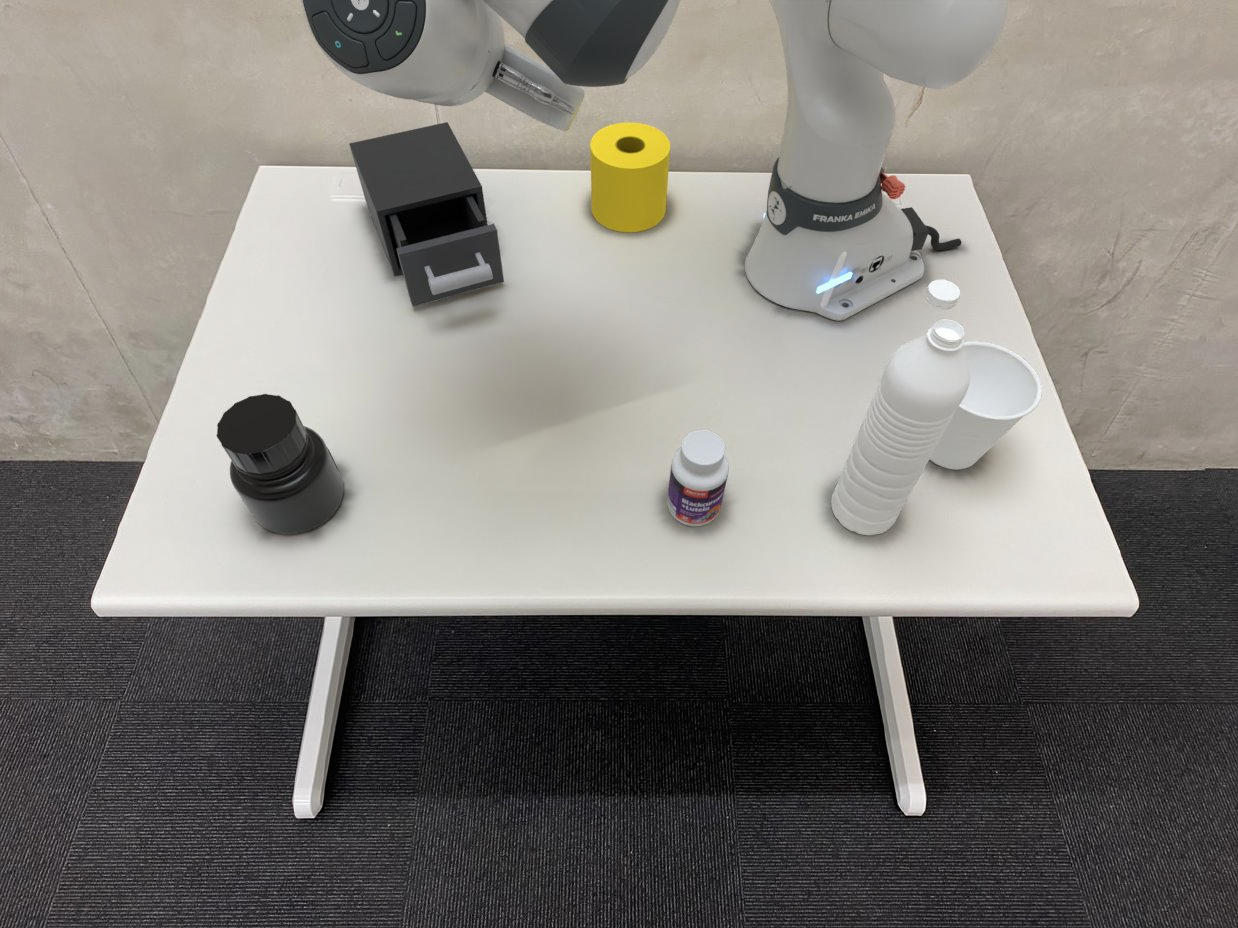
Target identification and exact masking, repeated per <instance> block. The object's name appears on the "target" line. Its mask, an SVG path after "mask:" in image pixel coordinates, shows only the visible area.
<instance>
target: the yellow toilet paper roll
mask: <svg viewBox="0 0 1238 928" xmlns="http://www.w3.org/2000/svg"><path fill="white" fill-rule="evenodd" d="M589 143H590V144H589V149H590V152H589V153H590V155H589V156H590V200H591V204H590V206H591V207H590V208H591V209H590V210H591V214H592V216H593V218H594V219H595V220H596V222H598V224H600V225H601V226H602V227H604V228H607V229H609V230H612V231H615V232H620V233H639V232H645V231H647V230H649V229H652V228H654V227H655V226H657V225H659V223H661V222H662V221H663V219H664V218H665V216H666V211H667V201H668V200H667V197H668V195H667V194H668V184H669V171H670V170H669V169H670V157H671V156H670V155H671V142H670V139H669V138H668V136H667V135H666V134H665V133H664V132H663V131H662V130H660V129H658V128H657V127H655V126H652V125H649V124H646V123H640V122H627V121H626V122H617V123H614V124H610V125H607V126H605V127H602V128H600V129H598V131H596V132H595V134H593V136H592V138H591V139H590V142H589Z"/></svg>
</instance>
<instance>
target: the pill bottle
mask: <svg viewBox="0 0 1238 928" xmlns="http://www.w3.org/2000/svg"><path fill="white" fill-rule="evenodd" d="M671 459H672V460H671V464H670V471H669V473H670V474H669V479H668V480H669V482H668V488H667V489H668V490H667V498H666V504H667V509H668V511H669V513H670V515H671V516H672V517H673V518H674V519H675V520H676V521H677V522H679V523H680V524H682V525H685V526H688V527H689V526H690V527H701V526H705V525H708V524H710V523H711V522H713V521H714V520H715V519H716V518H717V517H718V515H719V513H720V511H721V508H722V503H723V499H724V494H725V490H726V486H727V481H728V477H729V471H730V462H729V458H728V456H727V455H726V444H725V442H724V440H723V439H722V437H720V436H719V434H717V433H715V432H713V431H710V430H707V429H697V430H693V431H691V432H689V433H687V434H686V435H685V436H684V438H683V439H682V441H681V445H680V447H679V448H678V449H677V450H676V451H675V453H674V454H673V456H672V458H671Z"/></svg>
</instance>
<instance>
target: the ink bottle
mask: <svg viewBox="0 0 1238 928" xmlns="http://www.w3.org/2000/svg"><path fill="white" fill-rule="evenodd" d="M216 425H217V430H216V438H217V440H218V441H219V443H220V444H221V447H222V448H223V450H224V451H225V453H226V455H227V456H228V457H229V460H230V463H229V477H230V481H231V484H232V486H233V488H234V489H235V491H236V493H237V494H238V495H239V498H241V500H242V501H243V503H244V504H245V506H246V507H247V509H248V510H249V512H250V513H251V515H252V516H253V518H254V519H255V520H256V522H257V523H258V524H259V525H260V526H261V527H262V528H264V529H266V530H268V531H270V532H272V533H276V534H283V535H284V534H285V535H287V534H288V535H291V534H299V533H304V532H307V531H310V530H313V529H315V528H317V527H319V526H321V525H323V524H324V523H326V522H327V521H328V520H330V518H332V516H333V515H334V514H335V513H336V511H337V510H338V508H339V506H340V504H341V502H342V499H343V496H344V495H343V494H344V483H343V479H342V476H341V474H340V470H339V467H338V465H337V464H336V461H335V459H334V457H333V455H332V452H331V450H330V449H329V448H328V446H327V445H326V443H325V441H324V439H323V437H321V435H320V434H319V433H317V432H316V431H315V430H314V429H312V428H310V427H308V426H305V425H304V424H303V422H302V419H301V418H300V416H299V413H298V412H297V410H296V409H295V408H294V406H293V404H292V402H291V401H290V400H287V399H286V398H284V397H282V396H281V395H275V394H269V393H263V394H256V395H250V396H247V397H246V398H244V399H242V400H240V401H236V402H235V403H234V404H233V405H231V406H230V407H229V408H228V409H227V410H225V411H224V412H223V413H222V415H221V417H220V419H219V421H218V422H217V424H216Z"/></svg>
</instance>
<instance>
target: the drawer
mask: <svg viewBox="0 0 1238 928" xmlns="http://www.w3.org/2000/svg"><path fill="white" fill-rule="evenodd" d="M385 217H386V221H387V225H388V228H389V232H390V236H391V238H392V241H393V243H394V245H395V248H396V250H397V253H398V257H399V261H400V265H401V268H402V272H403V274H402V275H403V279H404V283H405V286H406V290H407V294H408V298H409V301H410V304H411V306H412V307H416V306H420V305H425V304H427V303H431V302H435V301H439V300H442V299H447V298H450V297H454V296H457V295H460V294H461V295H462V294H465V293H468V292H472V291H476V290H479V289H483V288H487V287H490V286H494V285H498V284H502V283H504V282H505V279H504V271H503V264H502V257H501V248H500V241H499V233H498V228H497V226H496V225H495V223H491V224H488V225H487V226H486V225H485V219H484V218H483V216H482V214H481V212H480V210H479V208H478V206H477V204H476V202H475V200H474V198H473V196H472V194H471V195H466V196H462V197H458V198H454V199H450V200H446V201H442V202H438V203H433V204H429V205H425V206H421V207H417V208H413V209H409V210H404V211H400V212H396V213H392V214H388V215H385Z"/></svg>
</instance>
